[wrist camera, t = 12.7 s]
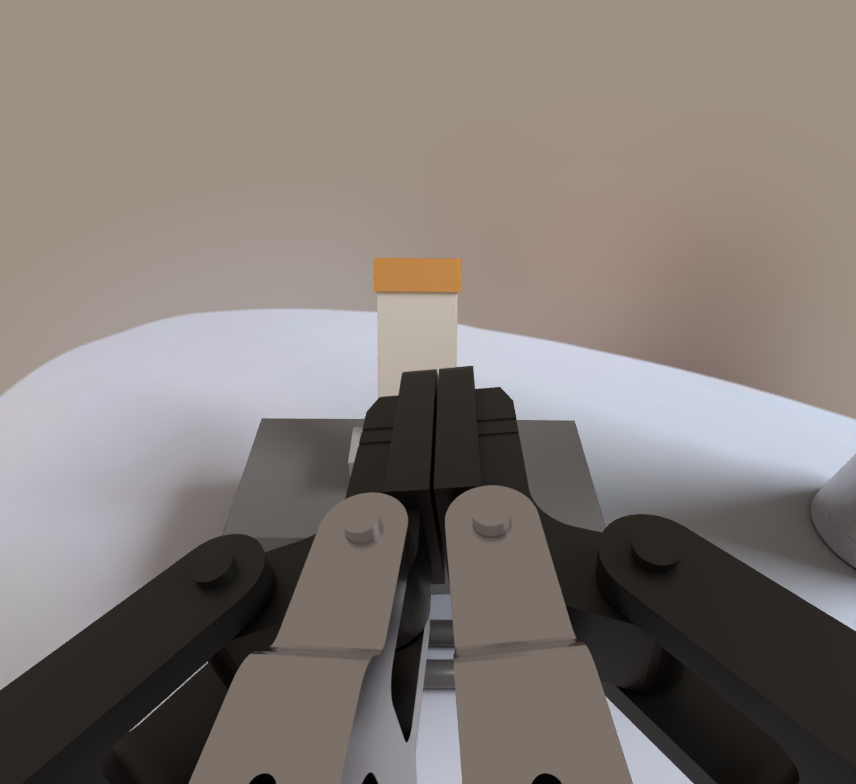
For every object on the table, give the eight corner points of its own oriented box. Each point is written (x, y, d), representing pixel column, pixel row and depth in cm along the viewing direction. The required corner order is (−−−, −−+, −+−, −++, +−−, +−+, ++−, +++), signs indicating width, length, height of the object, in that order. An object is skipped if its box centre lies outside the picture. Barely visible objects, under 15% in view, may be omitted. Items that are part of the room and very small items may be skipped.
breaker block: (601, 692, 31) (659, 627, 24) (227, 690, 31) (163, 624, 23) (553, 478, 43) (582, 388, 36) (283, 476, 43) (253, 386, 35)
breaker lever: (462, 474, 32) (466, 258, 30) (370, 473, 32) (368, 257, 30) (460, 465, 34) (463, 262, 32) (374, 464, 34) (372, 261, 32)
